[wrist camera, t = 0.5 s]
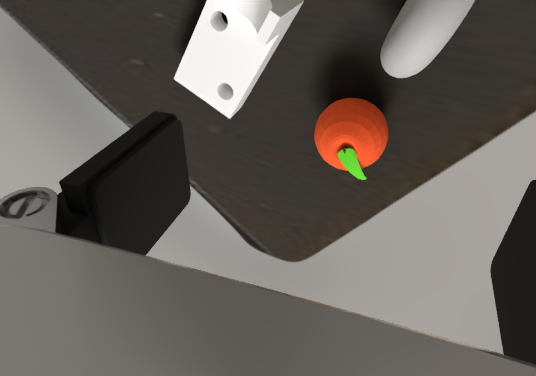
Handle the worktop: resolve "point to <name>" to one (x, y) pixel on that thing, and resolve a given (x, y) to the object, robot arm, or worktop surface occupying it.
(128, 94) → the worktop surface
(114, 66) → the worktop surface
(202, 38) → the bracket
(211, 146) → the worktop surface
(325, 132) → the clementine
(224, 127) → the worktop surface
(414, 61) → the donut
